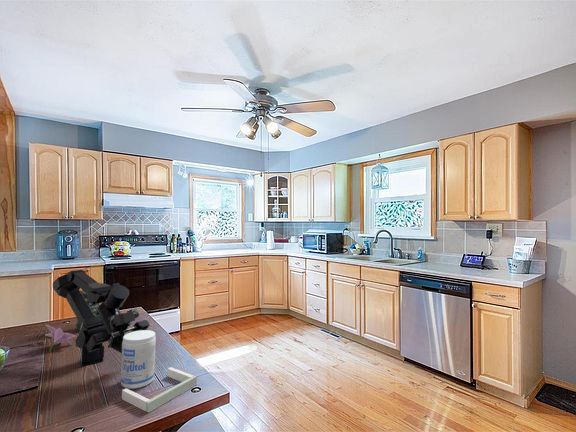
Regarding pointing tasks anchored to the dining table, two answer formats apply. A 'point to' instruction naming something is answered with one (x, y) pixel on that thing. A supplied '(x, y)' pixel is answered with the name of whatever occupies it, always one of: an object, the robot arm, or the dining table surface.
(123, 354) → the supplement tub
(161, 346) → the dining table surface
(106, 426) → the dining table surface
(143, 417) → the dining table surface
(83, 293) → the coffee jar
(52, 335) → the lily
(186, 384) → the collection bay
